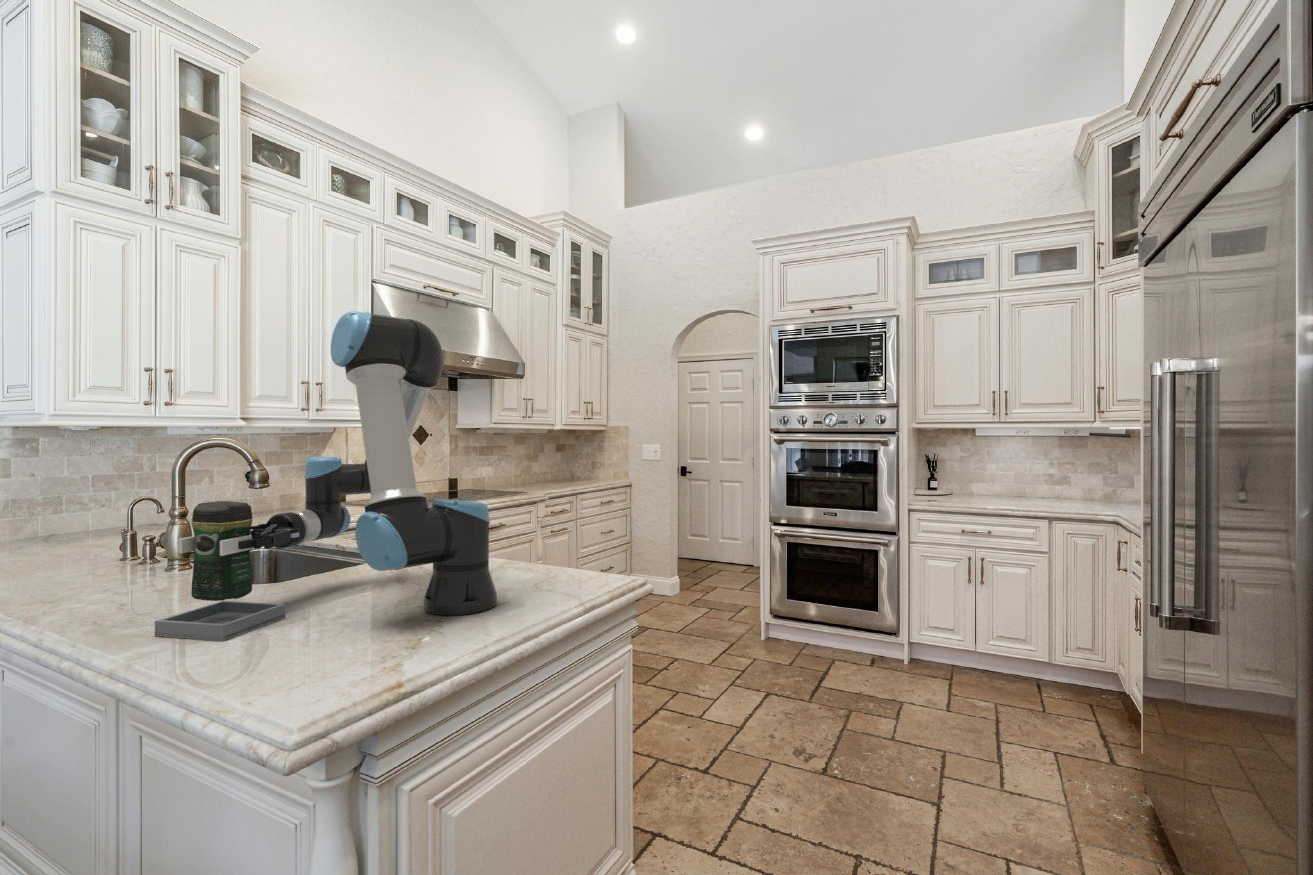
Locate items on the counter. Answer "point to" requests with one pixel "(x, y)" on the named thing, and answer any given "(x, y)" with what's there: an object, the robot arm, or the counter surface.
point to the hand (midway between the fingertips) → (200, 547)
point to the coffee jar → (211, 570)
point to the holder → (220, 620)
